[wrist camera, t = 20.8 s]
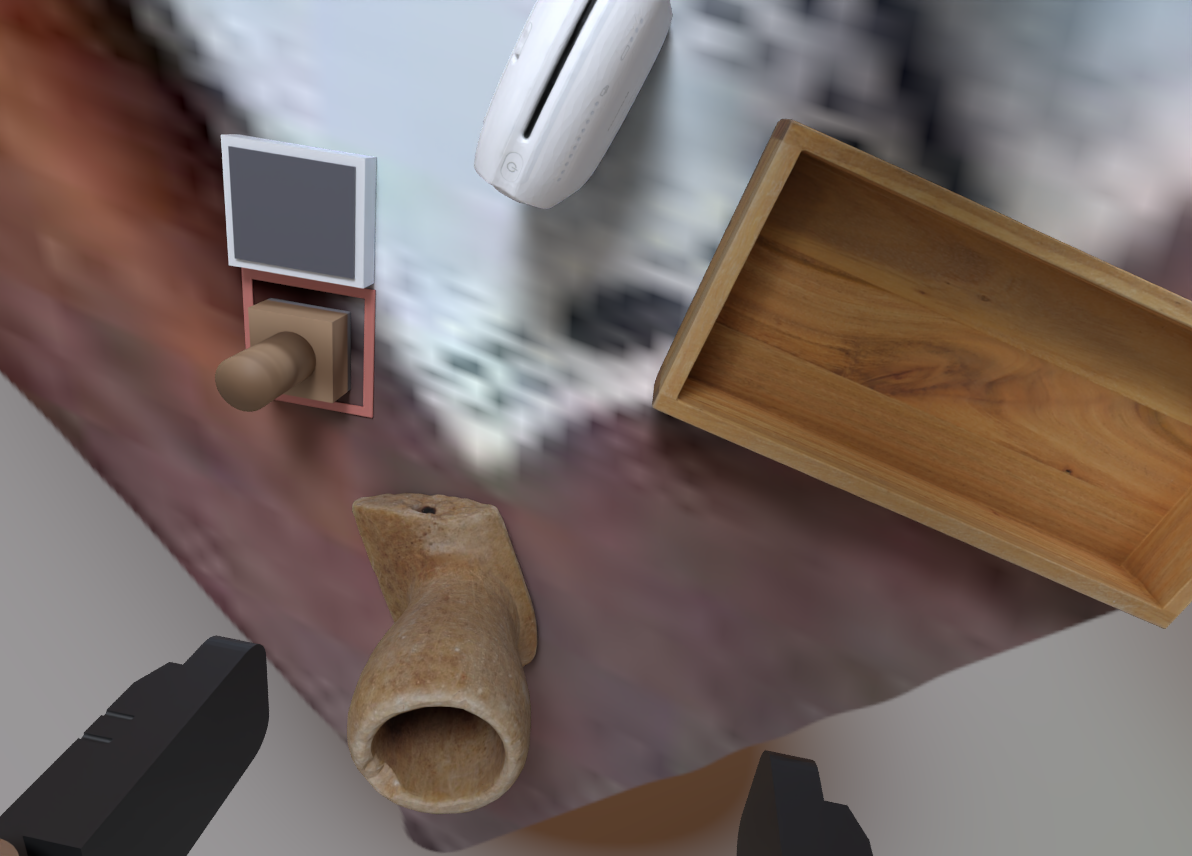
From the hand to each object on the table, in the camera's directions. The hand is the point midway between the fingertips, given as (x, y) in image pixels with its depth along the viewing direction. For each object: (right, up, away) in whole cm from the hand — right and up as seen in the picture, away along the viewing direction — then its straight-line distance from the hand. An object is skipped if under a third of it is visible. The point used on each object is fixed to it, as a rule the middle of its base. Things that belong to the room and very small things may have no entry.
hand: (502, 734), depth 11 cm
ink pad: (-15, +17, +30) cm, 38 cm away
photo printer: (+1, +22, +26) cm, 34 cm away
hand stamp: (-16, +10, +33) cm, 38 cm away
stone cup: (-7, -5, +38) cm, 39 cm away
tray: (+22, +8, +29) cm, 38 cm away
